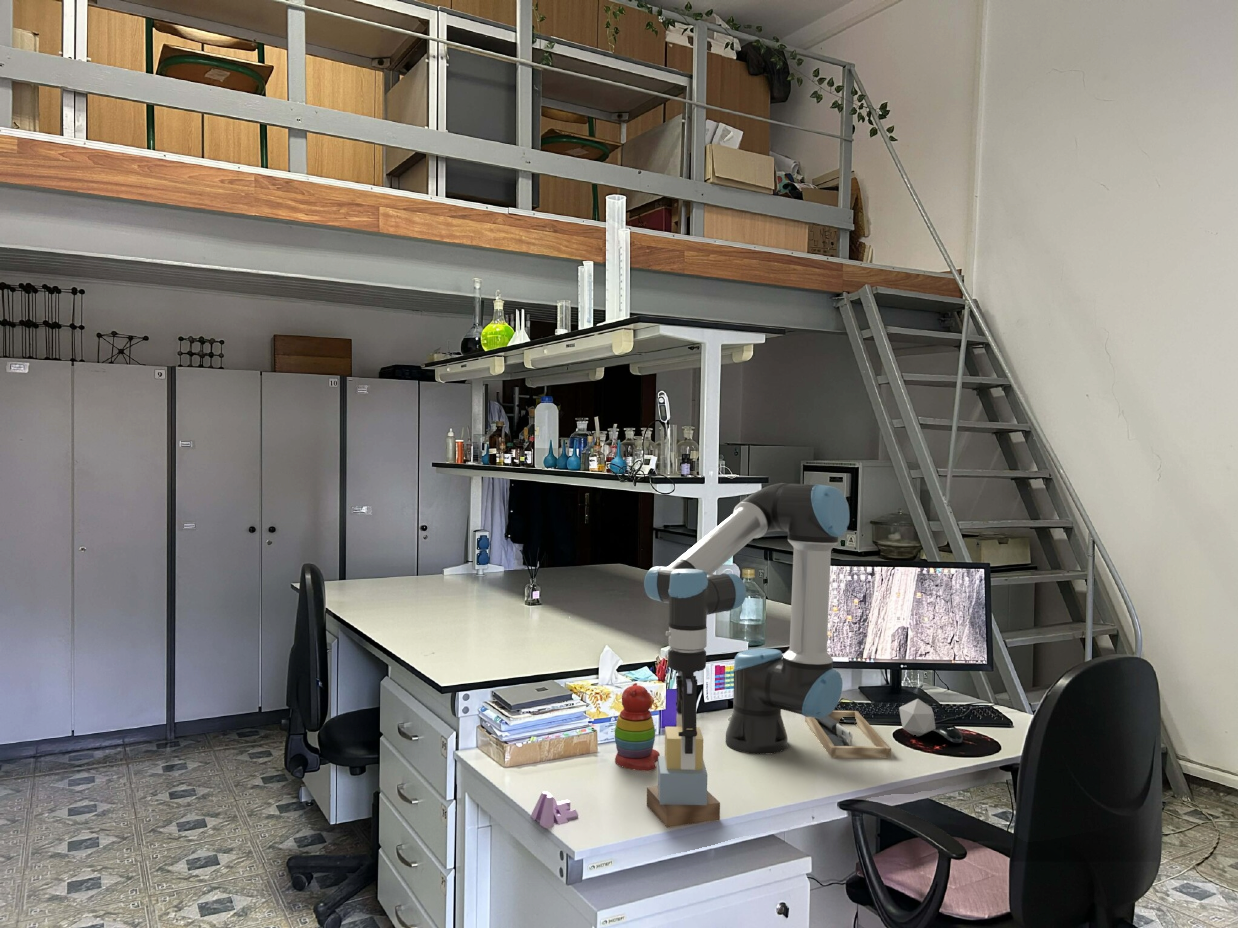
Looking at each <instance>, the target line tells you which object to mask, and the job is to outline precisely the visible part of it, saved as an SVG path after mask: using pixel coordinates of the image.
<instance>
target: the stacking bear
mask: <svg viewBox="0 0 1238 928" xmlns="http://www.w3.org/2000/svg"><path fill="white" fill-rule="evenodd" d="M654 702H655V698H654V697H653V696H652V695H651V694H650V692H649V691H648V690H647V688H646V687H645V686H642V685H638V683H637V682H634V683H633V684H632V685H631V686H628V687H626V688H625V689H624V690H623V692H622V695H621V703H622V704H621V705H622V706H623V709H622V710H621V711H620V713H619V714H618V716H617V719H616V723H615V729H614V741H615V745H616V752H617V753H616V755H615V758H614V762H615V763H616V765H618V766H619V765H620V767H622V766H623V767H622V768H624V767H625V769H628V768H629V770H633V769H635V770H634V771H641V772H643V771H644V772H649V771H654V770H655V769H656V763H655V762H656V761H658V756H661V755H660V752H659V750H656V749H655V748H654V745H655V740H656V729H655V723H654V719H653V716H652V712H651V711H650V709H651V708H652V706H653V705H654Z"/></svg>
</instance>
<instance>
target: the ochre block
mask: <svg viewBox="0 0 1238 928" xmlns="http://www.w3.org/2000/svg"><path fill="white" fill-rule="evenodd" d="M686 730H692V729H686ZM696 730H697V736H696V747H695V770H703V760H704V738H703V734H702V730H701V727H700V726H696ZM679 732H682V727H677V726H665V728H664V756H665V761H666V768H667V769H681V736H679V735H678V734H679ZM682 770H686V769H682Z"/></svg>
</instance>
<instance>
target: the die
mask: <svg viewBox="0 0 1238 928" xmlns="http://www.w3.org/2000/svg"><path fill="white" fill-rule="evenodd" d="M898 710H899V716H900V722H901V726H902V729H903V730H904V731H906V732H907V733H909V734H911V735H912V736H914V735H916V736H915V737H921V736H923V735H925V734H927V733H929V732H931V731H934V730H936V721H935V714H934V712H933V708H932V707H931V706H930V705H928V704H927V703H925V702H923V700H921V699H919V698H916V699H914V700H912V701H909V702H907V703H906V704H904V705H902V706H900V707H898ZM933 729H934V730H933Z"/></svg>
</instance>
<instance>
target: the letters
mask: <svg viewBox="0 0 1238 928" xmlns="http://www.w3.org/2000/svg"><path fill="white" fill-rule="evenodd" d="M529 816H530V818H531V819H533V820H534V821H536V820H537V821H538V820H539V825H540V826H542V828H544V829H546V828H549V827H551V828H552V827H553V826H554V825H555V823H556V824H557V825H563V824H566V823H569V821H572V820H577V819H579V813H578V811H577V809H572V810H571V801H570V800H569V799H565V800H561V801H560V800H559V801H556V799H555V797H554V796H553V795H552V793H550V792H548V791H542V792H541V793H540V796H539V798H538V799H537V802H536V803H535V805H534V808H533V810H532V812H531V813H530V815H529Z"/></svg>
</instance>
